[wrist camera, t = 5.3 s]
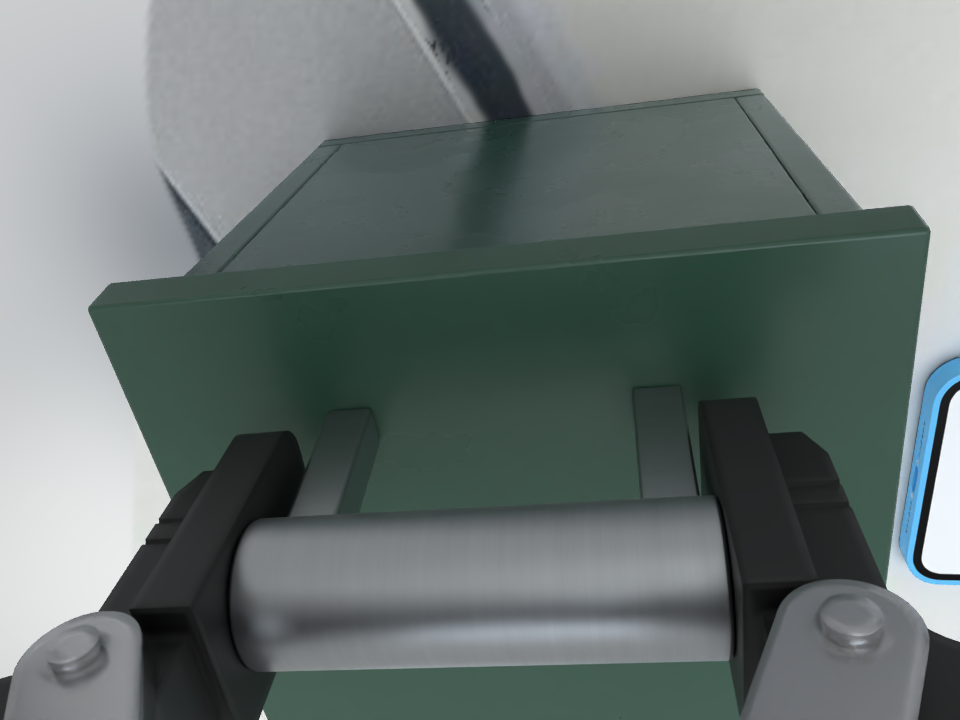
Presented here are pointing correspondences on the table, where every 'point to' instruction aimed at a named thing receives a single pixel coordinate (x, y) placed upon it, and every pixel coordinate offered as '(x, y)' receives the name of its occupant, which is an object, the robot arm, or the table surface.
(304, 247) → the waste bin
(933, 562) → the smartphone
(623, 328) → the bin lid
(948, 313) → the table surface
